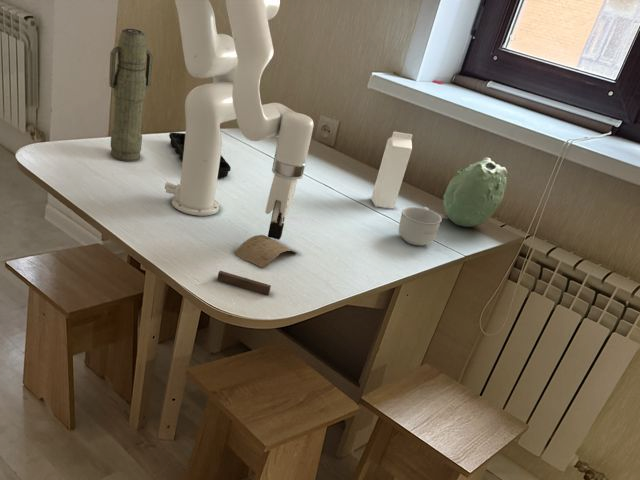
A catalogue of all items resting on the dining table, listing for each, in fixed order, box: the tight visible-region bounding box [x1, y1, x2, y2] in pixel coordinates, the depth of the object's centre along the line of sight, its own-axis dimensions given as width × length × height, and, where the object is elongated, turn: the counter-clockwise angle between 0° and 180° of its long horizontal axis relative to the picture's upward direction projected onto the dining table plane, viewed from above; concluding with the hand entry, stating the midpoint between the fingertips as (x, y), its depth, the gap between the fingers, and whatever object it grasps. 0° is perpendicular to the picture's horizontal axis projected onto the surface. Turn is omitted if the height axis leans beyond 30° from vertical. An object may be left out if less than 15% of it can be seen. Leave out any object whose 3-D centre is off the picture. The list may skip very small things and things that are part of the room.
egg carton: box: [168, 132, 232, 179], centre depth 209 cm, size 18×30×4 cm, turn 32°
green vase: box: [442, 156, 508, 228], centre depth 200 cm, size 16×19×20 cm
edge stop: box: [216, 270, 272, 296], centre depth 151 cm, size 12×1×2 cm, turn 75°
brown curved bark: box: [235, 234, 298, 268], centre depth 166 cm, size 14×10×3 cm
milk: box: [370, 131, 413, 210], centre depth 202 cm, size 6×6×22 cm
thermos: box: [108, 28, 153, 163], centre depth 193 cm, size 9×12×35 cm
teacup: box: [398, 206, 443, 247], centre depth 188 cm, size 14×11×8 cm
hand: (274, 237), depth 172 cm, fingers closed
